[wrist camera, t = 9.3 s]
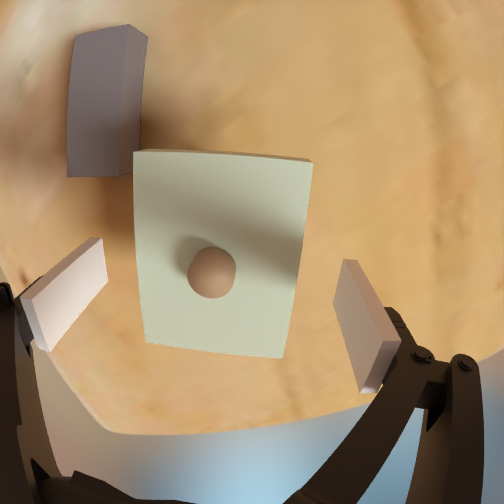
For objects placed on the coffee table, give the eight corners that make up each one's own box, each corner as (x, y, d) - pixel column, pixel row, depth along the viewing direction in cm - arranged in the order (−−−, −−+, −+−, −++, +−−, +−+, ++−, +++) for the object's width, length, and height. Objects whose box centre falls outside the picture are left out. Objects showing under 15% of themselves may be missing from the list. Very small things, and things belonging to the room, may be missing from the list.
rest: (98, 44, 20) (75, 35, 16) (147, 36, 20) (129, 24, 16) (91, 169, 24) (67, 177, 21) (138, 169, 24) (118, 176, 21)
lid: (147, 148, 16) (123, 154, 13) (307, 159, 16) (317, 165, 13) (154, 325, 21) (140, 353, 18) (281, 339, 20) (283, 371, 18)
